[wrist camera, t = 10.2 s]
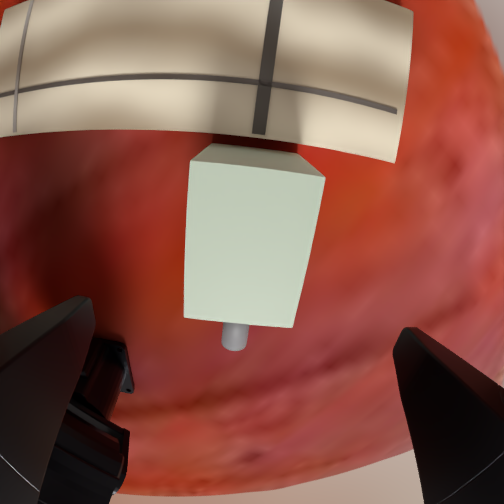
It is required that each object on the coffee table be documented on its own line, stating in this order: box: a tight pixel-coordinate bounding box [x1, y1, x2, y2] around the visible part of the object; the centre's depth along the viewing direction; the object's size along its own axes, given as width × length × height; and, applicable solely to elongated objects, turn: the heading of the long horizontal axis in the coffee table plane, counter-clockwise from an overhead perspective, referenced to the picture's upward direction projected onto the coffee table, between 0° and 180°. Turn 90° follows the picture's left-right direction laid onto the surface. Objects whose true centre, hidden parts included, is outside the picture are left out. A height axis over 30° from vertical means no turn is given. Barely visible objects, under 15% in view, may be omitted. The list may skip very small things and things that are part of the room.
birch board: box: [0, 0, 413, 163], centre depth 14 cm, size 10×27×2 cm, turn 83°
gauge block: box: [184, 143, 326, 351], centre depth 16 cm, size 10×5×7 cm, turn 173°
